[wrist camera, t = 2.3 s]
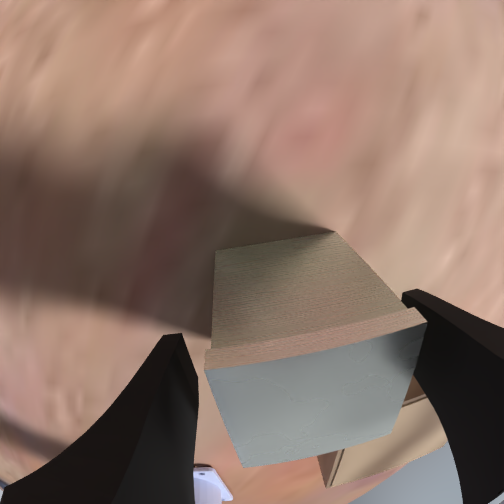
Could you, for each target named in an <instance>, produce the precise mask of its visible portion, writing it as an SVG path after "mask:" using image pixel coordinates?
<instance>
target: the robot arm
mask: <svg viewBox="0 0 504 504" xmlns="http://www.w3.org/2000/svg"><path fill="white" fill-rule="evenodd" d="M401 302H402V303H403V304H404V305H405V306H406V307H407V308H408V309H409V308H412V307H415V308H416V309H417V311H418V312H419V313H420V314H421V315H422V316H423V317H424V318H425V320H426V321H427V326H426V330H425V334H424V338H423V341H422V345H421V349H420V352H419V356H418V359H417V363H416V366H415V369H414V372H413V375H414V377H415V379H416V380H417V382H418V383H419V385H420V387H421V388H422V390H423V391H424V393H425V395H426V396H427V398H428V400H429V401H430V403H431V404H432V406H433V408H434V410H435V412H436V413H437V415H438V417H439V420H440V422H441V424H442V427H443V429H444V432H445V434H446V437H447V439H448V442H449V445H450V448H451V451H452V454H453V457H454V460H455V464H456V468H457V471H458V476H459V481H460V486H461V492H462V498H463V504H488V503H490V502H491V501H492V500H494V499H495V498H497V497H498V496H499V495H501V494H502V493H503V492H504V328H502V327H499V326H497V325H494V324H492V323H490V322H488V321H485V320H483V319H481V318H479V317H477V316H474V315H472V314H470V313H468V312H466V311H464V310H462V309H460V308H458V307H456V306H454V305H452V304H450V303H448V302H446V301H444V300H442V299H440V298H438V297H436V296H433V295H431V294H429V293H427V292H424V291H422V290H419V289H414V290H410V291H406V292H403V293H402V300H401ZM198 408H199V391H198V376H197V373H196V371H195V368H194V366H193V363H192V360H191V358H190V355H189V352H188V349H187V347H186V344H185V341H184V338H183V335H182V333H177V334H168V335H163V336H162V337H161V339H160V340H159V342H158V343H157V344H156V346H155V347H154V349H153V350H152V351H151V353H150V354H149V356H148V357H147V359H146V360H145V361H144V363H143V364H142V366H141V367H140V368H139V370H138V371H137V373H136V374H135V375H134V377H133V378H132V379H131V381H130V382H129V384H128V385H127V386H126V387H125V389H124V390H123V391H122V392H121V394H120V395H119V396H118V397H117V399H116V400H115V401H114V402H113V404H112V405H111V406H110V407H109V408H108V409H107V411H106V412H105V413H104V414H103V415H102V416H101V417H100V418H99V419H98V420H97V421H96V422H95V423H94V424H93V425H92V426H91V427H90V428H89V429H88V430H87V431H86V432H85V433H84V434H83V435H82V436H81V437H80V438H78V439H77V440H76V441H75V442H74V443H73V444H71V445H70V446H69V447H68V448H67V449H66V450H64V451H63V452H62V453H61V454H59V455H58V456H57V457H55V458H54V459H53V460H51V461H50V462H48V463H47V464H45V465H44V466H42V467H41V468H39V469H38V470H36V471H34V472H33V473H31V474H29V475H28V476H26V477H24V478H22V479H20V480H18V481H16V482H14V483H12V484H11V485H8V486H6V487H5V488H4V491H3V495H2V498H1V501H0V504H222V501H230V500H233V496H232V494H231V493H230V491H229V490H228V489H227V487H226V486H225V484H224V483H223V481H222V480H221V478H220V477H219V475H218V474H217V472H216V471H215V469H213V468H211V467H198V468H194V453H195V441H196V430H197V419H198ZM500 504H504V500H503V501H502V502H501V503H500Z"/></svg>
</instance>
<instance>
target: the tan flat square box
mask: <svg viewBox="0 0 504 504" xmlns="http://www.w3.org/2000/svg"><path fill="white" fill-rule="evenodd" d="M447 441H448V439H447V437H446V434H445V432H444V429H443V427H442V424H441V422H440V420H439V417H438V415H437V413H436V412H435V410H434V408H433V406H432V404H431V403H430V401H429V400H428V398H427V396H426V395H425V393H424V391H423V390H422V388H421V387H420V385H419V383H418V382H417V380H416V379H415V377H414V375H412V378H411V382H410V384H409V387H408V390H407V393H406V396H405V399H404V401H403V404H402V407H401V409H400V412H399V415H398V417H397V420H396V422H395V425H394V427H393V429H392V432H391V434H388V435H386V436H383V437H380V438H377V439H374V440H371V441H368V442H365V443H362V444H358V445H355V446H352V447H348V448H345V449H341V450H337V451H333V452H329V453H325V454H321V455H317V458H318V461H319V465H320V469H321V473H322V476H323V480H324V484H325V488H330V487H334V486H338V485H342V484H346V483H349V482H353V481H356V480H359V479H363V478H366V477H369V476H372V475H375V474H378V473H381V472H384V471H387V470H390V469H392V468H395V467H398V466H400V465H403V464H405V463H408V462H410V461H412V460H415V459H417V458H419V457H422V456H424V455H426V454H428V453H431V452H433V451H435V450H437V449H439V448H441V447H443V446H444V445H445V443H446V442H447Z"/></svg>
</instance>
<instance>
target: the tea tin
mask: <svg viewBox="0 0 504 504" xmlns="http://www.w3.org/2000/svg"><path fill="white" fill-rule="evenodd" d="M426 326H427V321H426V320H425V318H424V317H423V316H422V315H421V314H420V313H419V312H418V311H417V309H416V308H415V307H412V308H409V309H408V308H407V307H406V306H405V305H404V304H403V303H402V302H401V300H400V299H399V298H398V297H397V296H396V295H395V294H394V293H393V291H392V290H391V289H390V288H389V287H388V286H387V285H386V284H385V283H384V282H383V280H382V279H381V278H380V277H379V276H378V275H377V274H376V273H375V272H374V271H373V270H372V269H371V267H370V266H369V265H368V264H367V263H366V262H365V261H364V260H363V259H362V258H361V257H360V256H359V255H358V254H357V253H356V252H355V251H354V250H353V249H352V248H351V247H350V246H349V244H348V243H347V242H346V241H345V240H344V239H343V238H342V237H341V236H340V235H339V234H338V233H337V232H329V233H323V234H316V235H310V236H304V237H298V238H291V239H285V240H279V241H272V242H266V243H260V244H254V245H248V246H241V247H235V248H229V249H223V250H217V251H216V254H215V271H214V290H213V312H212V337H211V349H207V350H205V363H204V371H205V374H206V377H207V379H208V382H209V385H210V388H211V390H212V393H213V396H214V398H215V401H216V403H217V406H218V409H219V411H220V414H221V416H222V419H223V421H224V424H225V426H226V429H227V431H228V434H229V436H230V438H231V441H232V443H233V445H234V448H235V450H236V452H237V455H238V457H239V459H240V462H241V464H242V466H243V468H246V467H255V466H262V465H269V464H276V463H282V462H288V461H293V460H298V459H303V458H308V457H313V456H317V455H321V454H325V453H329V452H333V451H337V450H341V449H345V448H348V447H352V446H355V445H358V444H362V443H365V442H368V441H371V440H374V439H377V438H380V437H383V436H386V435H388V434H391V432H392V429H393V427H394V425H395V422H396V420H397V417H398V415H399V412H400V409H401V407H402V404H403V401H404V399H405V396H406V393H407V390H408V387H409V384H410V382H411V378H412V375H413V372H414V369H415V366H416V363H417V359H418V356H419V352H420V349H421V345H422V341H423V338H424V334H425V330H426Z"/></svg>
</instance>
